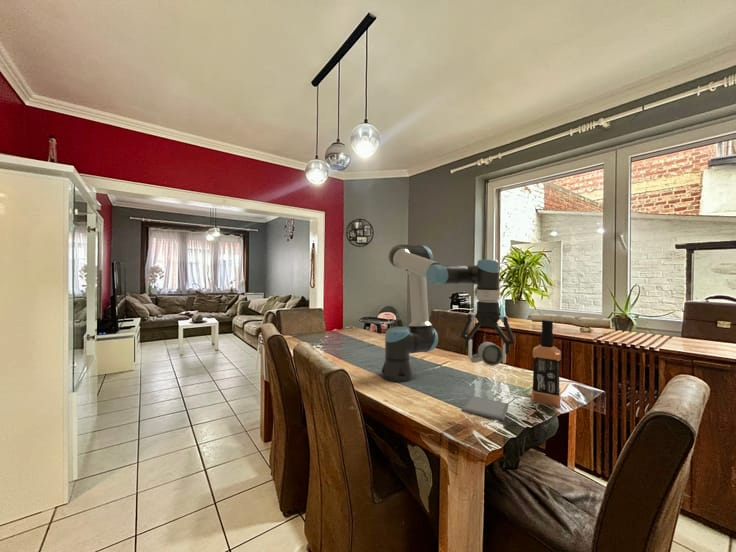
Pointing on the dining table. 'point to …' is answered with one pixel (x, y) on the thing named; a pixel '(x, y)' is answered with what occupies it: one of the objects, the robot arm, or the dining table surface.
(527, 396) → the dining table surface
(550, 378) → the whiskey bottle
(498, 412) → the trivet
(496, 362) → the ceramic mug
